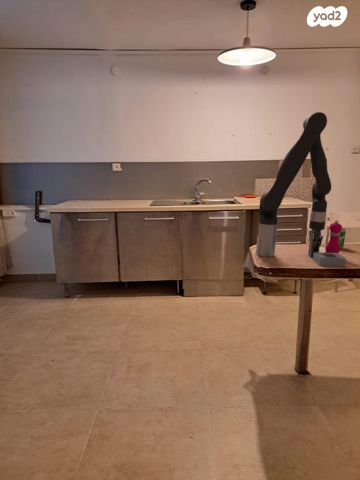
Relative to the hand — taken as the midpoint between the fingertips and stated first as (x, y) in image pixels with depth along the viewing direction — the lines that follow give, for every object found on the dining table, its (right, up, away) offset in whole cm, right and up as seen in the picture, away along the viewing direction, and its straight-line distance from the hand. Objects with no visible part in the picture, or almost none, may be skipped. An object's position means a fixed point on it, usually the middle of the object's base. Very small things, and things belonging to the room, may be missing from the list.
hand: (313, 251), depth 166 cm
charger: (0, -3, +1) cm, 3 cm away
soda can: (+21, +1, +19) cm, 28 cm away
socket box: (+3, -5, -10) cm, 12 cm away
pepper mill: (+10, -3, 0) cm, 10 cm away
